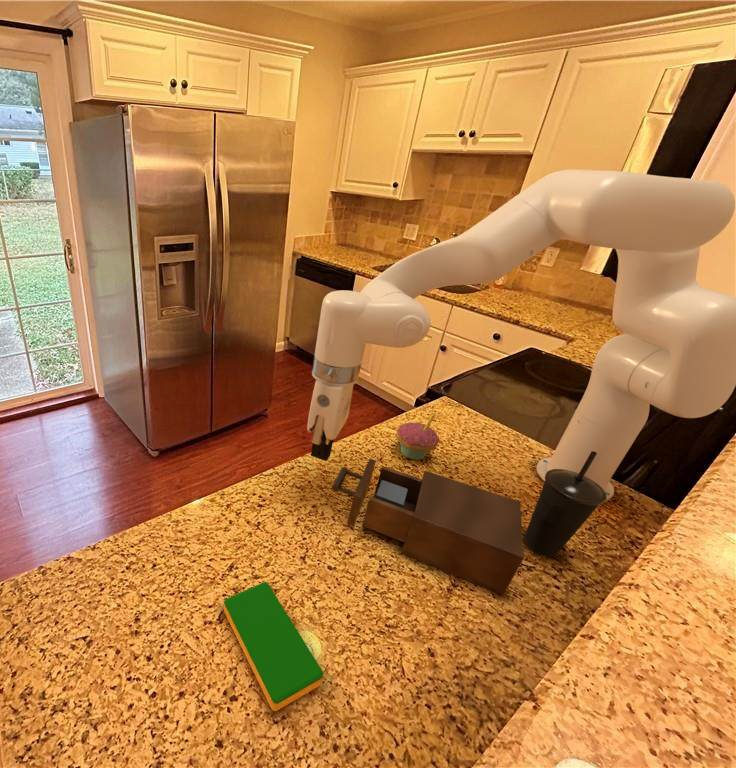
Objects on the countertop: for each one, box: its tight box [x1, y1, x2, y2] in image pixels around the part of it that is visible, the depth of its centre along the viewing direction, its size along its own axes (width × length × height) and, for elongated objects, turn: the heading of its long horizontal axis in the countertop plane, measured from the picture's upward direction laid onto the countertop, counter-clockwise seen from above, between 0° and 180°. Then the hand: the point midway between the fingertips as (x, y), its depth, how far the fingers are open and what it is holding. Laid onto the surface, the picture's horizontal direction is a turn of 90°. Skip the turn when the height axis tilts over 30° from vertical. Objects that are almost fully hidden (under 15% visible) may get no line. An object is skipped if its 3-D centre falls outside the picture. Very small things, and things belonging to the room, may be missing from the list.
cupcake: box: [395, 411, 441, 461], centre depth 89 cm, size 9×8×12 cm
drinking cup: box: [523, 451, 607, 558], centre depth 65 cm, size 8×8×20 cm
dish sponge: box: [223, 581, 324, 712], centre depth 54 cm, size 7×14×2 cm, turn 25°
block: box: [376, 480, 408, 508], centre depth 73 cm, size 4×4×4 cm
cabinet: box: [401, 470, 525, 596], centre depth 68 cm, size 15×13×9 cm
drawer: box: [331, 458, 422, 544], centre depth 73 cm, size 18×11×7 cm, turn 60°
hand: (320, 456), depth 76 cm, fingers closed
